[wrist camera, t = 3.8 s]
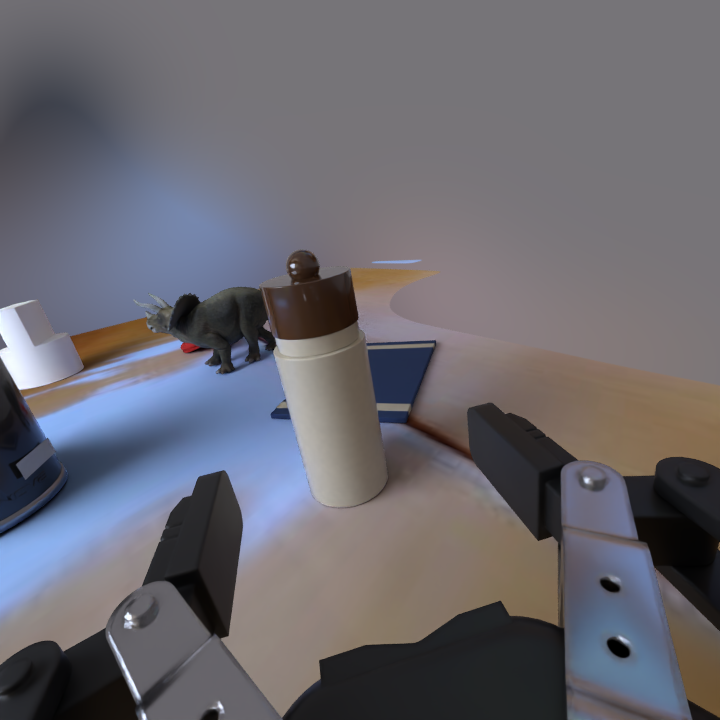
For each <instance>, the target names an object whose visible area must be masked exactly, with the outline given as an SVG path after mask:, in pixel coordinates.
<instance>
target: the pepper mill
mask: <svg viewBox="0 0 720 720" xmlns="http://www.w3.org/2000/svg"><path fill="white" fill-rule="evenodd" d="M286 270H287V273H288V274H287V275H283V276H279V277H276V278H273V279H270V280H267V281H265V282H263V283H261V284H260V285H259V287H260V291H261V295H262V299H263V303H264V306H265V310H266V314H267V318H268V321H269V325H270V329H271V333H272V335H273V337H275V341H276V344H277V346H276V347H275V349H274V351H273V354H274V358H275V362H276V365H277V369H278V373H279V377H280V380H281V384H282V388H283V391H284V395H285V399H286V403H287V406H288V410H289V414H290V417H291V421H292V425H293V429H294V432H295V436H296V440H297V443H298V447H299V451H300V455H301V458H302V462H303V466H304V469H305V473H306V477H307V480H308V484H309V488H310V492H311V494H312V496H313V497H314V498H315V499H316V500H317V501H318V502H320V503H321V504H323V505H326V506H329V507H335V508H346V507H352V506H357V505H360V504H362V503H365V502H367V501H369V500H370V499H372V498H373V497H375V496H376V495H377V494H378V493H380V491H381V490H382V489H383V488H384V486H385V484H386V482H387V479H388V469H387V463H386V457H385V451H384V445H383V439H382V433H381V427H380V421H379V415H378V409H377V403H376V397H375V391H374V385H373V379H372V373H371V367H370V361H369V355H368V349H367V343H366V337H365V333H364V332H363V331H362V330H360V329H359V327H358V321H357V320H358V311H357V305H356V299H355V293H354V287H353V282H352V276H351V270H350V268H349V267H344V266H342V267H341V266H337V267H326V268H320V265H319V261H318V259H317V257H316V256H315V255H314V254H313V253H312V252H310V251H308V250H304V249H300V250H296V251H294V252H293V253H292V254H291V255H290V256H289V257H288V259H287V262H286Z"/></svg>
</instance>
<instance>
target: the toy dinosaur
mask: <svg viewBox="0 0 720 720" xmlns="http://www.w3.org/2000/svg"><path fill="white" fill-rule="evenodd" d="M148 294H149V295H150V296H151V297H152V298H154V299H155V300H156V301H157V302H158V303H159V304H160V306H161V307H162V308H160V307H158V306H156V305H153V304H141V303H139V302H137V301H136V300H134V302H135V303H136V304H137V305H138V306H141V307H144V308H148V309H151V310H153V311H155V312H156V313H157V314H158V315H155V314H151V313H149V312H147V311H146V316H147V326H148V328H149V329H150V330H152V331H153V332H155V333H158V332H162V333H167V334H171V335H173V336H174V337H176V338H178V339H179V340H180V341H181V342H184V343H191V344H194V345H196V346H199V347H202V348H214V352H213V356H212V357H211V358H210V359H209V360H208V361H206V362H205V364H206V365H208V364H209V366H213V365H217V364H219V363H221V362H222V364H221V368H220V369H219V370H218V371H217V372H216V373H217V374H218V373H221V374H224V373H226V372H231V371H233V370H235V368H234V367H233V364H232V363H231V346H230V344H233V343H235V342H237V341H239V340H240V339H242V338H243V337H245V339H246V340H247V342H248V344H249V355H248V356H247V357H246V359H245V361H249V363H251V362H253V361H254V360H256V361H259V360H260V353H259V351H260V350H259V345H258V336H259V337H262V338H264V339H265V340H266V341H267V342H268V343H269V345H268V346H266V349H265V350H268V351H270V350H272V349H273V348H274V347H275V345H276V341H275V337H273V335H272V333H271V332H269V331H267V330H266V329H264V328H263V325H264V324H265V323H266V320H268V318H267V314H266V310H265V306H264V303H263V299H262V295H261V291H260V290H257V289H255V288H249V287H233V288H229V289H226V290H223V291H221V292H219V293H217V294H215V295H214V296H212V297H211V298H209V299H207V300H205V301H203V302H200V301H199V300H198V298H199V297H196V295H195V294H194V295H192V294H191V293H189V294H188V295H186V294H184V295H183V296H180V297H179V299H178V300H177V301H176V304H175V305H174V307H171V306H169V305H168V304H167V303H166V302H165V301H164V300H162V299H161V298H159V297H156V296H154V295H152V294H150V293H148ZM152 327H153V328H152Z"/></svg>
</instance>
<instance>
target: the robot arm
mask: <svg viewBox="0 0 720 720" xmlns="http://www.w3.org/2000/svg"><path fill="white" fill-rule="evenodd" d="M467 418H468V432H469V446H470V452H471V455H472V458H473V460H474V462H475V464H476V465H477V467H478V468H479V469H480V470H481V471H482V473H483V474H484V475H485V476H486V478H487V479H488V480H489V481H490V483H491V484H492V485H493V486H494V487H495V489H496V490H497V491H498V492H499V494H500V495H501V496H502V497H503V498H504V500H505V501H506V502H507V503H508V505H509V506H510V507H511V508H512V509H513V511H514V512H515V513H516V514H517V516H518V517H519V518H520V519H521V520H522V522H523V523H524V524H525V525H526V527H527V528H528V529H529V530H530V532H531V533H532V534H533V535H534V536H535V538H536V539H537V540H538V541H539V540H543V539H546V538H549V537H552V536H553V537H554V538H555V539H556V541H557V542H558V626H556V625H554V624H551V623H548V622H545V621H542V620H539V619H534V618H529V617H521V616H509V614H508V612H507V611H506V609H505V607H504V605H503V604H502V602H501V601H498V602H495V603H492V604H489V605H486V606H483V607H480V608H477V609H474V610H471V611H468V612H465V613H462V614H459V615H457V616H456V617H454V618H453V619H451V620H450V621H448V622H447V623H446V624H444V625H443V626H441V627H440V628H438V629H437V630H435V631H434V632H433V633H431V634H430V635H428V636H427V637H425V638H424V639H423V640H421V641H419V642H416V643H408V644H381V645H365V646H362V647H359V648H356V649H352V650H349V651H346V652H343V653H340V654H337V655H334V656H331V657H328V658H325V659H322V660H319V663H320V675H321V679H320V680H319V681H317V682H316V683H314V684H313V685H312V686H311V687H309V688H308V689H307V690H306V691H305V692H304V693H303V694H302V695H301V696H300V697H299V698H298V699H297V700H296V701H295V702H294V703H293V704H292V706H291V707H290V708H289V710H288V711H287V712H286V714H285V715H284V716H283V717H282V718H281V717H280V715H279V714H278V713H277V712H276V710H275V709H274V708H273V706H272V705H271V704H270V703H269V701H268V700H267V699H266V697H265V696H264V695H263V694H262V692H261V691H260V690H259V688H258V687H257V686H256V685H255V683H254V682H253V681H252V679H251V678H250V677H249V676H248V674H247V673H246V672H245V670H244V669H243V668H242V667H241V665H240V664H239V663H238V661H237V660H236V659H235V658H234V656H233V655H232V654H231V652H230V651H229V650H228V649H227V647H226V646H225V645H224V643H223V642H222V641H221V640H220V638H224V637H227V636H229V628H230V620H231V613H232V605H233V598H234V590H235V583H236V575H237V568H238V560H239V553H240V545H241V538H242V530H243V522H242V514H241V510H240V507H239V504H238V501H237V499H236V496H235V493H234V491H233V488H232V485H231V482H230V480H229V477H228V475H227V473H226V471H224V470H223V471H219V472H215V473H211V474H207V475H203V476H200V477H198V479H197V482H196V485H195V488H194V490H193V493H192V496H189V497H185V498H183V499H182V500H181V501H180V502H179V503H178V505H177V506H176V507H175V508H174V509H173V510H172V512H171V513H170V516H169V519H168V521H167V524H166V526H165V528H166V529H165V530H164V531H163V534H162V536H161V542H159V544H158V547H157V549H156V552H155V554H154V557H153V559H152V562H151V564H150V567H149V569H148V572H147V575H146V577H145V580H144V582H143V585H142V587H140V588H139V589H137V590H135V591H134V592H133V593H131V594H130V595H129V596H127V597H126V598H125V599H124V600H123V601H122V602H121V603H120V604H119V605H118V607H117V608H116V609H115V610H114V612H113V613H112V615H111V617H110V618H109V621H108V623H107V626H106V628H105V629H103V630H101V631H100V632H98V633H96V634H94V635H93V636H91V637H89V638H87V639H85V640H84V641H82V642H80V643H78V644H76V645H75V646H73V647H71V648H69V649H67V650H66V651H64V652H63V651H62V649H61V648H60V647H59V645H58V644H57V643H56V642H53V641H41V642H37V643H35V644H32V645H30V646H28V647H26V648H24V649H22V650H20V651H19V652H17V653H16V654H14V655H13V656H11V657H10V658H9V659H7V660H6V661H5V662H4V663H2V664H1V665H0V720H720V718H719V717H717V716H716V715H714V714H712V713H710V712H709V711H707V710H705V709H703V708H702V707H700V706H698V705H696V704H695V703H693V702H691V701H689V700H688V699H687V697H686V693H685V689H684V685H683V681H682V677H681V673H680V669H679V665H678V661H677V657H676V653H675V649H674V646H673V642H672V638H671V634H670V630H669V626H668V622H667V618H666V614H665V610H664V606H663V602H662V598H661V594H660V590H659V586H658V582H657V578H656V574H655V570H654V567H655V568H656V569H657V570H658V571H659V572H660V573H661V574H662V575H663V576H664V577H665V578H666V579H667V580H668V581H669V582H670V583H671V584H672V585H673V586H674V587H675V588H676V589H677V590H678V591H679V592H680V593H681V594H682V595H683V596H685V597H686V598H687V599H688V600H689V601H690V602H691V603H692V604H693V605H694V606H695V607H696V608H697V609H698V610H699V611H700V612H701V613H702V614H703V615H704V616H705V617H706V618H707V619H708V620H709V621H710V622H711V623H712V624H713V625H714V626H715V627H716V628H717V629H718V630H719V631H720V551H719V550H718V545H719V542H720V469H719V468H717V467H715V466H713V465H711V464H708V463H706V462H703V461H700V460H696V459H691V458H684V457H670V458H665V459H663V460H661V461H659V462H658V463H657V465H656V471H655V476H621V475H620V474H619V473H618V472H617V471H616V470H614V469H612V468H611V467H609V466H606V465H604V464H601V463H597V462H593V461H578V460H577V459H576V458H575V457H573V456H572V455H571V454H569V453H568V452H567V451H566V450H564V449H563V448H562V447H561V446H559V445H558V444H557V443H555V442H554V441H553V440H552V439H550V438H549V437H546V435H545V434H544V433H543V432H541V431H540V430H539V429H537V428H536V427H535V426H534V425H533V424H531V423H530V422H529V421H527V420H526V419H524V418H522V417H519V416H517V415H514V414H512V413H508V414H505V413H504V412H502V411H501V410H500V409H499V408H498V407H496V406H495V405H494V404H493V403H487V404H483V405H479V406H475V407H471V408H469V409H468V412H467ZM55 452H56V451H55V450H54V448H53V446H52V444H51V443H50V441H49V439H48V438H47V439H46V437H45V435H44V433H43V431H42V429H41V428H40V426H39V424H38V422H37V420H36V419H35V417H34V415H33V413H32V412H31V410H30V408H29V406H28V405H27V403H26V401H25V399H24V397H23V396H22V394H21V392H20V390H19V389H18V387H17V385H16V383H15V381H14V380H13V378H12V376H11V374H10V373H9V371H8V369H7V367H6V366H5V364H4V362H3V360H2V358H1V357H0V533H2V532H4V531H5V530H7V529H9V528H11V527H12V526H14V525H16V524H18V523H19V522H21V521H22V520H24V519H25V518H27V517H28V516H30V515H31V514H33V513H34V512H36V511H37V510H38V509H40V508H41V507H42V506H43V505H45V504H46V503H47V502H48V501H49V500H51V499H52V498H53V497H54V496H55V495H56V494H57V493H58V492H59V491H60V489H61V488H62V487H63V485H64V484H65V482H66V480H67V476H68V474H67V471H66V469H65V467H64V466H63V464H62V463H61V462H60V461H59V460H58V459H57V457H56V455H55Z"/></svg>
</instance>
